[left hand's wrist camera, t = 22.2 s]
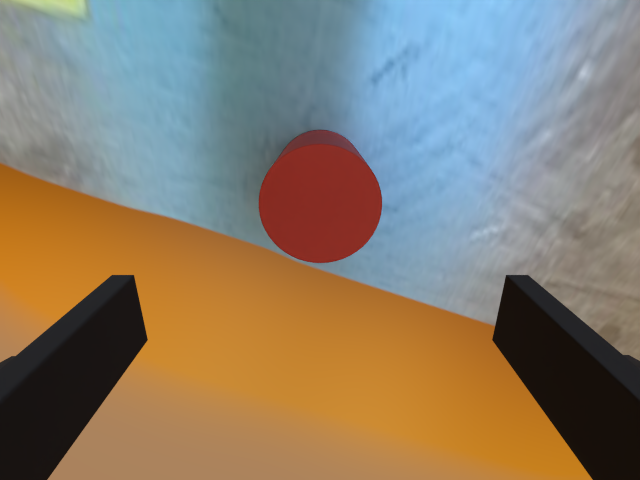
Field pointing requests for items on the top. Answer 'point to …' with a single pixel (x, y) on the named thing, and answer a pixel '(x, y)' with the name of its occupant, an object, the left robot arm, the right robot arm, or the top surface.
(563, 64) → the top surface
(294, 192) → the can
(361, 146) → the top surface
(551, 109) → the top surface
